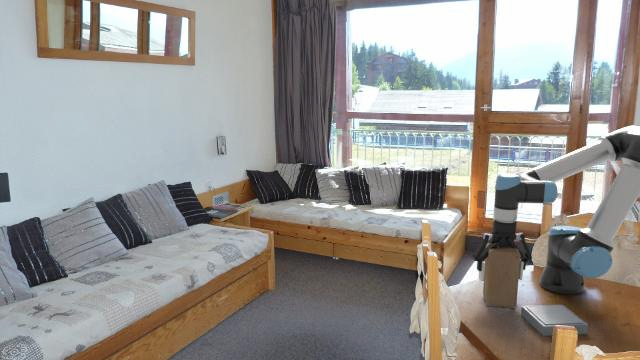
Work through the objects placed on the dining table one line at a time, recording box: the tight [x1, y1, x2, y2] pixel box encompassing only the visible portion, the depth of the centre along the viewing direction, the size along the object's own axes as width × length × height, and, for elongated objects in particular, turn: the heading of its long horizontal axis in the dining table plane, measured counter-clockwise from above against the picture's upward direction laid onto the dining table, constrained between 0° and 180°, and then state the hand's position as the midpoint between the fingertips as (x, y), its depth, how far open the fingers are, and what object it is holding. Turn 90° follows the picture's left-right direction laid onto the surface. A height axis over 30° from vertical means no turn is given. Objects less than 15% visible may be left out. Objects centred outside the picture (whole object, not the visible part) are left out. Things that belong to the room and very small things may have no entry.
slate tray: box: [520, 304, 589, 337], centre depth 156 cm, size 14×14×3 cm
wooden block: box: [482, 242, 521, 309], centre depth 170 cm, size 10×10×20 cm
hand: (500, 279), depth 170 cm, fingers open, 13 cm apart
